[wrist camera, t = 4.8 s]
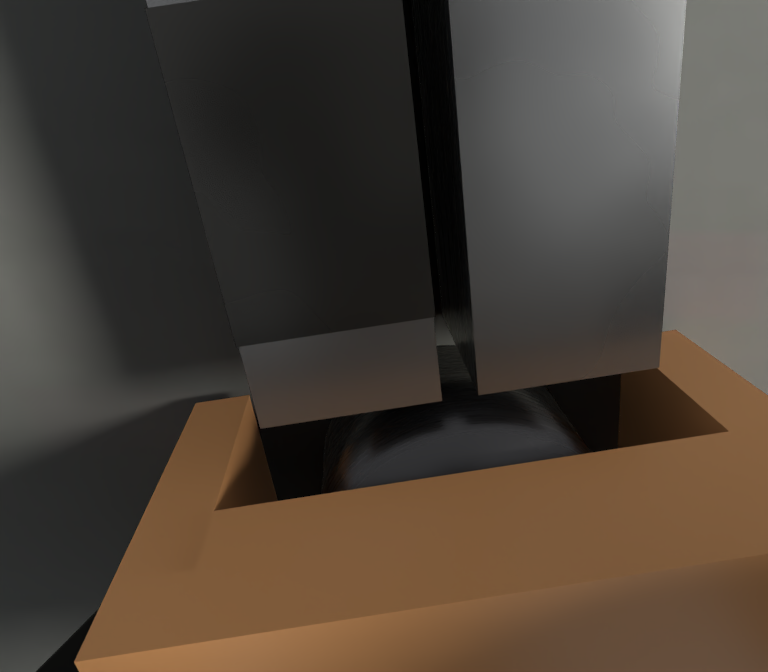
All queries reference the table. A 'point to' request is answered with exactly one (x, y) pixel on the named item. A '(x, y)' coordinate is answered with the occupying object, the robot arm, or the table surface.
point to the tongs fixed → (532, 225)
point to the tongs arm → (308, 196)
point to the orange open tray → (463, 552)
